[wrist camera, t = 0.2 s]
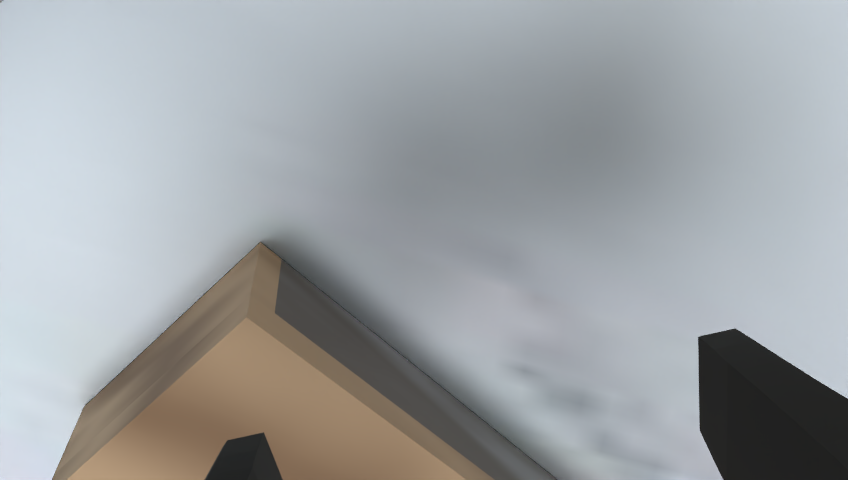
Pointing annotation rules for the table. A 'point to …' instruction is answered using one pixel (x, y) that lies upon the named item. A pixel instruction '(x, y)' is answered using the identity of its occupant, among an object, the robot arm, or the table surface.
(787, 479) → the robot arm
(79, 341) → the table surface
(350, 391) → the low shelf
